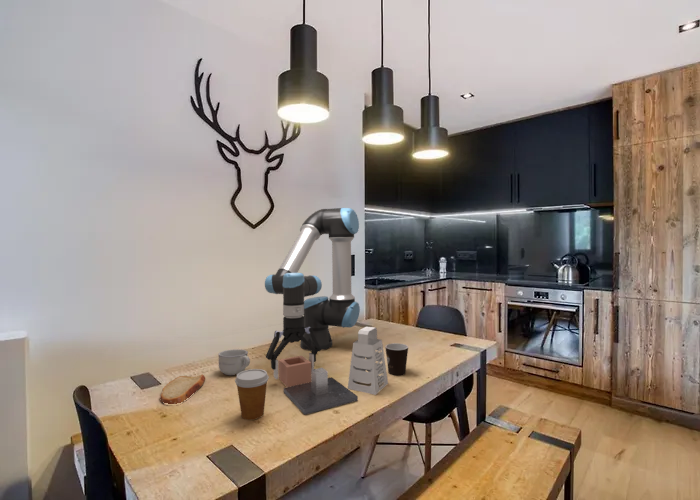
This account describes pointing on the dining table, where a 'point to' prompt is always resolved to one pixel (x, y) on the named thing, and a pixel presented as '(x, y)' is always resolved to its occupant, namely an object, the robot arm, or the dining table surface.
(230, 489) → the dining table surface
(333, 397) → the post stand
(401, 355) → the coffee mug
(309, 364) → the hollow square tube
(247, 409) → the disposable coffee cup
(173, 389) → the slice of bread
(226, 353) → the teacup
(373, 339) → the grater
